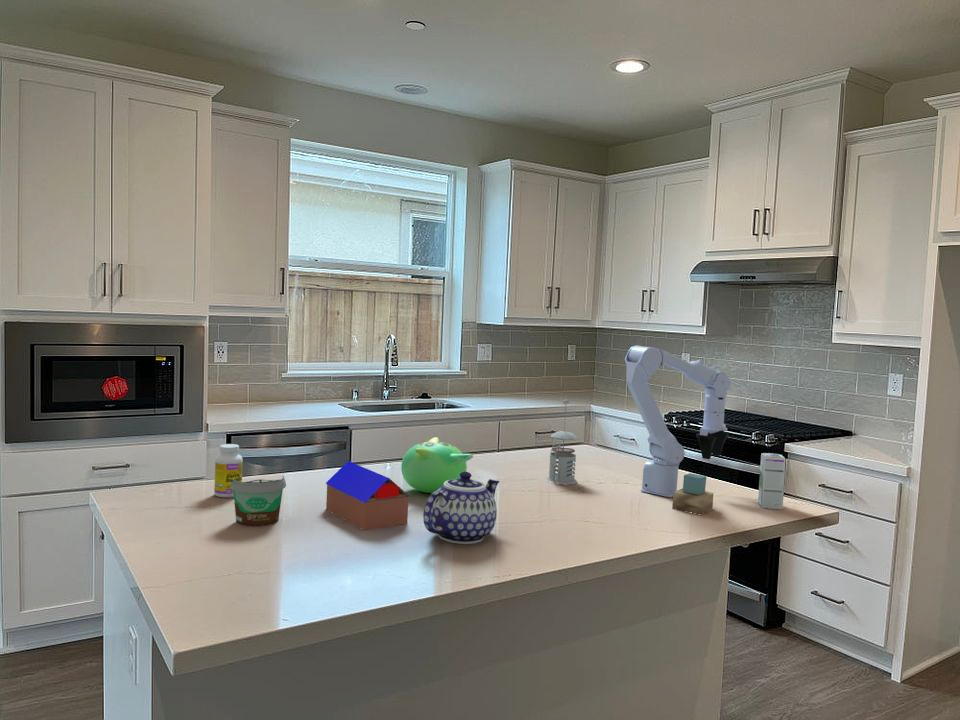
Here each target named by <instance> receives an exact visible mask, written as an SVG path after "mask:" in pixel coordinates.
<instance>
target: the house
mask: <svg viewBox="0 0 960 720" xmlns="http://www.w3.org/2000/svg"><path fill="white" fill-rule="evenodd" d="M325 484H326V504H325V505H326V507H325V509H326V510H327V511H329V512H330V513H332V514H333V515H335V516H337V517H339V518H341V519H343V520H345V522H348V523H350V524H351V525H353V526H355V527H357V528H358V529H360V530H363V531H370V530H377V529H383V528H389V527H395V526H400V525H401V526H402V525H406V524H408V520H409V519H408V518H409V517H408V516H409V515H408V514H409V497H410V495H409V494H408V493H407V492H406V491H404V490H403V488H401V487H400V486H399V485H398V484H396V482H395V481H393V480H392V479H391V478H389V477H387V476H385V475H383V474H380V473H378V472H376V471H374V470H371V469H368V468H366V467H363V466H361V465H359V464H356V463H354V462H352V461H349V460H348V461H346V463H344V465H342V466H341V467H340V469H338V470H337V472H335V473H334V474H333V475H332V476H331V477H330V478H329V479H328V480H327V481H326V482H325Z"/></svg>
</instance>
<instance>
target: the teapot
mask: <svg viewBox="0 0 960 720" xmlns="http://www.w3.org/2000/svg"><path fill="white" fill-rule="evenodd" d="M460 477H461V478H458V479H452V480H448V481H445V482H444V485H443V486H442V487H440V488H439V489H438V490H437V491H434V492H433V493H430V495H429V496H428V498H427V500H426V502H425V505H424V508H423V525H424V527H425V529H426V530H427V531H428V532H430V533H431V534H436V535H438V537H439V538H440V539H441V540H442V541H445V542H448V543H452V544H458V545H472V544H477V543H481V542H482V541H483V540H484V538H485V537H487V536H488V535H490V534H491V532H492V531H493V529H494V528H495V526H496V525H495V524H496V521H497V513H498V512H497V511H498V509H497V503H496V498H495V496H496V489H497V486H498V485H499V483H500V481H499V480H498V479H492V478H489V479H488V480H487V482H486V484H485V483H484V482H482V481H479V480H475V479H471V477H472V474H471V472H469V471H466V472H461V473H460Z"/></svg>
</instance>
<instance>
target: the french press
mask: <svg viewBox="0 0 960 720" xmlns="http://www.w3.org/2000/svg"><path fill="white" fill-rule="evenodd" d="M562 404H564V407H565V408H564V419H566V417H567V415H566V413H567V405H568V404H570V401H569V400H568V399H564V400H562ZM563 425H564V426H563V430H561V431H556V432H553V433H552V434H550V437H551V439H554V440H559V441H563V444H561V443H559V444H558V445H557V442H554V443H553V444H552V446H551V450H550V454H549V455H550V456H549V472H548V476H547V478H546V479H547V480H548V481H551V482H553V483H558V484H573V485H575V484H574V483H577V482H578V481H577V479H576V478H575V474H576V459H577V457H576V456H577V455H576V454H575V452H576V450H575V449H574V448H570V447H565V441H574V440H577V439H578V436H577V435H575V434H574V433H573V432H571V431H570V432H569V431H566V422H564V424H563ZM554 446H555V447H554ZM558 484H557V485H558ZM577 484H578V483H577Z"/></svg>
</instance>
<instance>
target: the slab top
mask: <svg viewBox="0 0 960 720" xmlns="http://www.w3.org/2000/svg"><path fill="white" fill-rule="evenodd" d="M673 502H678V503H682V504H687V505H692V506H697V507H704V506H706V505H708V504H710V503H712V502H713V503H714V492H710V491H706V490H705V493H703V494H700V495H696V494H691V493H686V492H683V487H682V488H681V489H679V490H678V489H677V491H676V492H674V494H673V497H672V503H673Z"/></svg>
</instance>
